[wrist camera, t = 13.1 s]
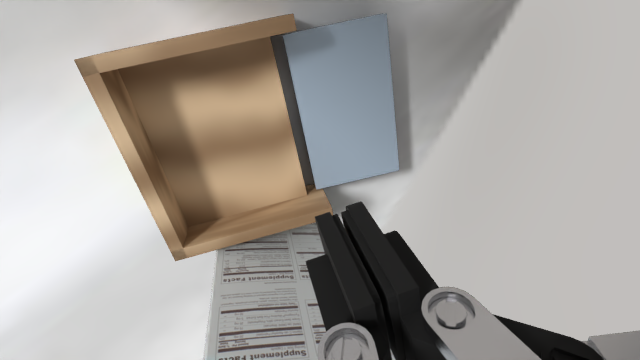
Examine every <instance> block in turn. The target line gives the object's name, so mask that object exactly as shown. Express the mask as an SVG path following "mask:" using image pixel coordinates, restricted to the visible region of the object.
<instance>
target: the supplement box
mask: <svg viewBox="0 0 640 360" xmlns="http://www.w3.org/2000/svg"><path fill="white" fill-rule="evenodd" d="M343 226H344V225H343ZM322 255H325V253H324V249H323V246H322V242H321V239H320V235H319V231H318V228H317V224H308V225H304V226H300V227H297V228H293V229H290V230H286V231H282V232H279V233H275V234H272V235H268V236H264V237H261V238H257V239H254V240H250V241H246V242H243V243H239V244H236V245H232V246H228V247H225V248H221V249H217V250H216V258H215V267H214V275H213V283H212V291H211V299H210V307H209V315H208V323H207V331H206V339H205V348H204V357H203V360H318V356H317V354H318V345H319V343H320V340H321V338H322V337H323V335H324V334H325V333H326V329H325V326H324V323H323V319H322V316H321V313H320V309H319V306H318V302H317V299H316V296H315V292H314V289H313V286H312V282H311V279H310V275H309V272H308V269H307V265H306V262H305V261H307V260H310V259H313V258H316V257H319V256H322ZM390 351H391V349H390ZM391 356H392V360H395V358H394V355H393V353H392V351H391Z"/></svg>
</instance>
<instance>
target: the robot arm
mask: <svg viewBox="0 0 640 360" xmlns="http://www.w3.org/2000/svg"><path fill="white" fill-rule="evenodd" d="M341 214H342V219H343V223H344V226H343V224H342V222H341V220H340V218H339V216H338V215H337V214H335V215H331V213H330V212H327V213H324V214H321V215H318V216H315V221H316V224H317V228H318V231H319V235H320V239H321V242H322V246H323V249H324V253H325V255H322V256H319V257H316V258H313V259H310V260H307V261H305V262H306V265H307V269H308V272H309V275H310V279H311V282H312V286H313V289H314V292H315V296H316V299H317V302H318V306H319V309H320V313H321V316H322V319H323V323H324V326H325V329H326V333H325V334H324V335H323V337H322V338H321V340H320V343H319V345H318V354H317V356H318V360H392V356H391V351H392V353H393V355H394V358H395V360H640V331H633V332H624V333H615V334H608V335H600V336H591V337H589V339H588V341H582V342H581V341H579V340H576V339H574V338H571V337H568V336H565V335H561V334H558V333H554V332H551V331H548V330H544V329H541V328H537V327H534V326H531V325H527V324H524V323H520V322H517V321H513V320H510V319H507V318H503V317H499V316H496V315H493V314H491V313H490V312H489V311H488V310H487V309H486V308H485V307H484V306H483V305H482V304H481V303H480V302H478V301H477V300H476V299H475V298H474V297H473V296H472V295H470V294H469V293H467V292H466V291H463V290H460V289H458V288H453V287H440V288H439V287H438V286H437V284H436V283H435V282H434V280H433V279H432V278H431V276H430V275H429V273H428V272H427V271H426V269H425V268H424V267H423V265H422V264H421V263H420V261H419V260H418V259H417V257H416V256H415V255H414V253H413V252H412V250H411V249H410V248H409V247H408V245H407V244H406V242H405V241H404V240H403V238H402V237H401V236H400V234H399V233H398V232H397V231H392V232H390V233H386V234H383V233H382V231H381V230H380V228H379V227H378V225H377V224H376V222H375V221H374V219H373V218H372V216H371V215H370V213H369V212H368V210H367V209H366V207H365V206H364V204H363V203H362V202H358V203H355V204H352V205H349V206H346V211H344V212H342V213H341ZM390 349H391V351H390Z"/></svg>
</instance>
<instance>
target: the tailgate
mask: <svg viewBox="0 0 640 360" xmlns="http://www.w3.org/2000/svg"><path fill="white" fill-rule="evenodd" d="M283 40H284V45H285V49H286V54H287V58H288V63H289V68H290V72H291V77H292V81H293V86H294V91H295V95H296V100H297V104H298V109H299V113H300V118H301V123H302V127H303V132H304V136H305V141H306V146H307V150H308V155H309V159H310V164H311V169H312V173H313V178H314V182H315V186H316V190H317V189H321V188H326V187H330V186H334V185H338V184H343V183H347V182H351V181H355V180H360V179H364V178H368V177H373V176H377V175H381V174H385V173H390V172H394V171H398V170H399V160H398V148H397V136H396V123H395V111H394V98H393V86H392V74H391V61H390V49H389V36H388V24H387V14H378V15H373V16H368V17H364V18H359V19H354V20H349V21H345V22H340V23H335V24H330V25H326V26H321V27H316V28H312V29H307V30H302V31H297V32H293V33H288V34H283Z"/></svg>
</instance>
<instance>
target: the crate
mask: <svg viewBox="0 0 640 360" xmlns="http://www.w3.org/2000/svg"><path fill="white" fill-rule="evenodd" d="M292 31H297V30H296V25H295V20H294V15H293V14H288V15H282V16H277V17H272V18H268V19H263V20H258V21H253V22H248V23H244V24H239V25H234V26H229V27H225V28H220V29H215V30H210V31H205V32H201V33H196V34H191V35H186V36H182V37H177V38H172V39H167V40H163V41H158V42H153V43H148V44H143V45H139V46H134V47H129V48H124V49H120V50H115V51H110V52H105V53H101V54H97V55H92V56H88V57H84V58H80V59H75V60H74V61H75V63H76V65H77V67H78V69H79V71H80V73H81V75H82V77H83V79H84V81H85V83H86V85H87V87H88V89H89V91H90V93H91V95H92V97H93V99H94V101H95V103H96V105H97V107H98V109H99V111H100V112H101V114H102V116H103V118H104V120H105V122H106V124H107V126H108V128H109V130H110V132H111V134H112V136H113V138H114V140H115V142H116V144H117V146H118V148H119V150H120V152H121V154H122V156H123V158H124V160H125V162H126V164H127V166H128V168H129V170H130V172H131V174H132V176H133V178H134V180H135V182H136V184H137V186H138V188H139V190H140V192H141V194H142V196H143V198H144V200H145V202H146V204H147V206H148V208H149V210H150V212H151V214H152V216H153V218H154V220H155V222H156V224H157V226H158V228H159V230H160V232H161V233H162V235H163V237H164V239H165V241H166V243H167V245H168V247H169V249H170V251H171V253H172V255H173V257H174V259H175V261H178V260H181V259H185V258H189V257H192V256H196V255H199V254H203V253H207V252H210V251H214V250H217V249H221V248H225V247H228V246H232V245H236V244H239V243H243V242H246V241H250V240H254V239H257V238H261V237H264V236H268V235H272V234H275V233H279V232H282V231H286V230H290V229H293V228H297V227H300V226H304V225H308V224H311V223H315V222H316V221H315V216H318V215H321V214H324V213H327V212H330V213H331V215H333V211H332V207H331V205H330V203H329V201H328V199H327V197H326V194H325V192H324V190H323V188H321V189H317V190H316V186H315V184H312V185H308V186H305V184H304V179H303V175H302V171H301V167H300V162H299V158H298V154H297V150H296V145H295V141H294V137H293V133H292V128H291V124H290V120H289V115H288V111H287V107H286V103H285V98H284V94H283V90H282V86H281V81H280V77H279V73H278V69H277V64H276V60H275V56H274V51H273V47H272V43H271V39H270V36H274V35H278V34H283V33H288V32H292Z"/></svg>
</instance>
